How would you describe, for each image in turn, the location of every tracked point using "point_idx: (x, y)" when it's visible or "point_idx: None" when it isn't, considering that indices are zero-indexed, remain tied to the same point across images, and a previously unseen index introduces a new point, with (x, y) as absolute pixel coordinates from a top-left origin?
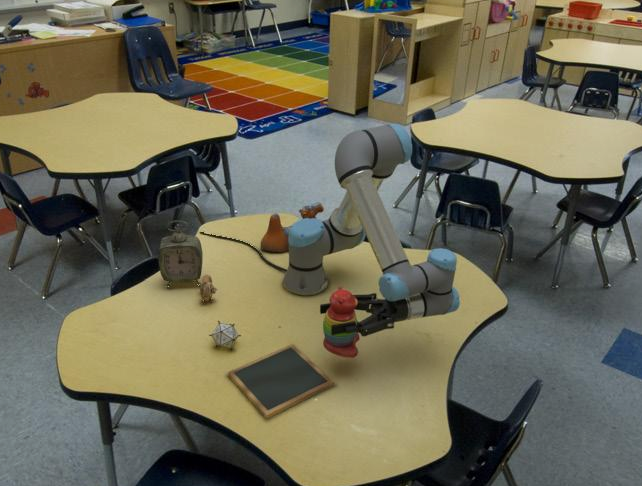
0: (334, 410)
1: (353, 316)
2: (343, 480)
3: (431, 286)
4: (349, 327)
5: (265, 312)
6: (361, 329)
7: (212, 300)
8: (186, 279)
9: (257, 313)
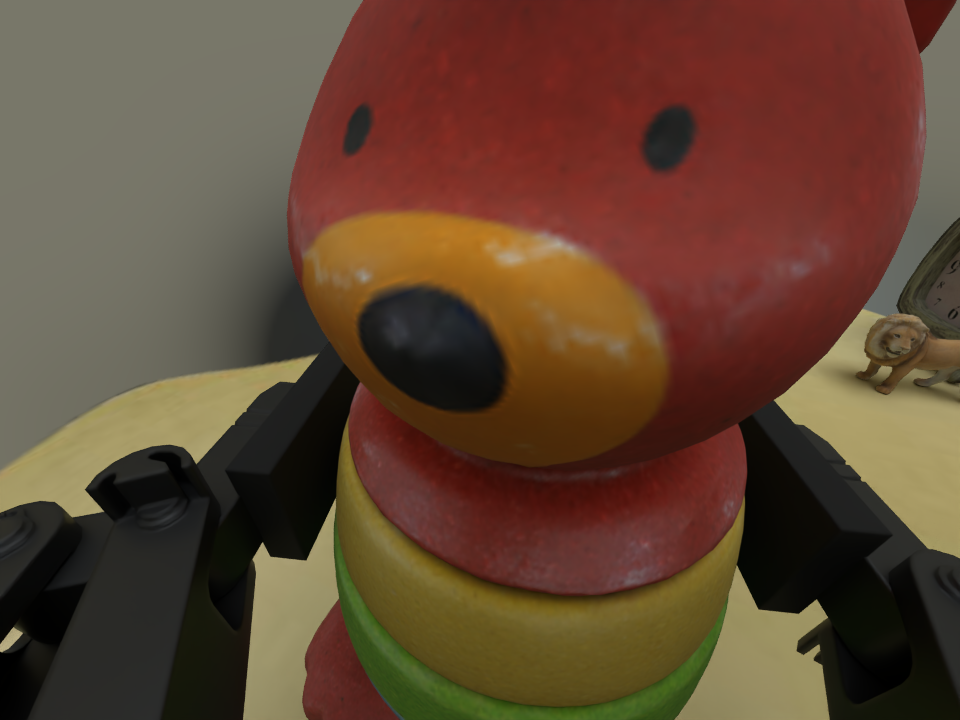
0: (262, 542)
1: (364, 480)
2: (42, 453)
3: None
4: (268, 414)
5: (906, 510)
6: (78, 522)
7: (884, 389)
8: (936, 333)
9: (880, 482)
